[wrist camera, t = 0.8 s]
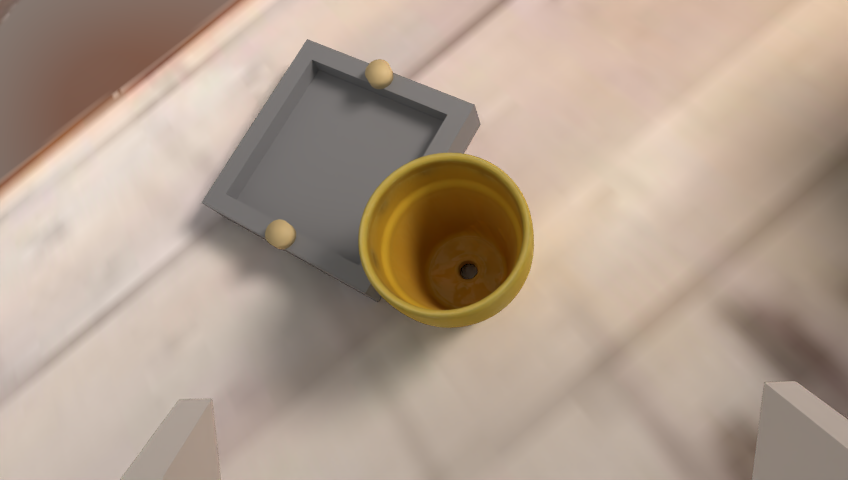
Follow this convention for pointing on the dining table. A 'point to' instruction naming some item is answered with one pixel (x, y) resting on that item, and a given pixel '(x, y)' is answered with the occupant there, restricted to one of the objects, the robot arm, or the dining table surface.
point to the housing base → (333, 155)
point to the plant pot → (447, 239)
